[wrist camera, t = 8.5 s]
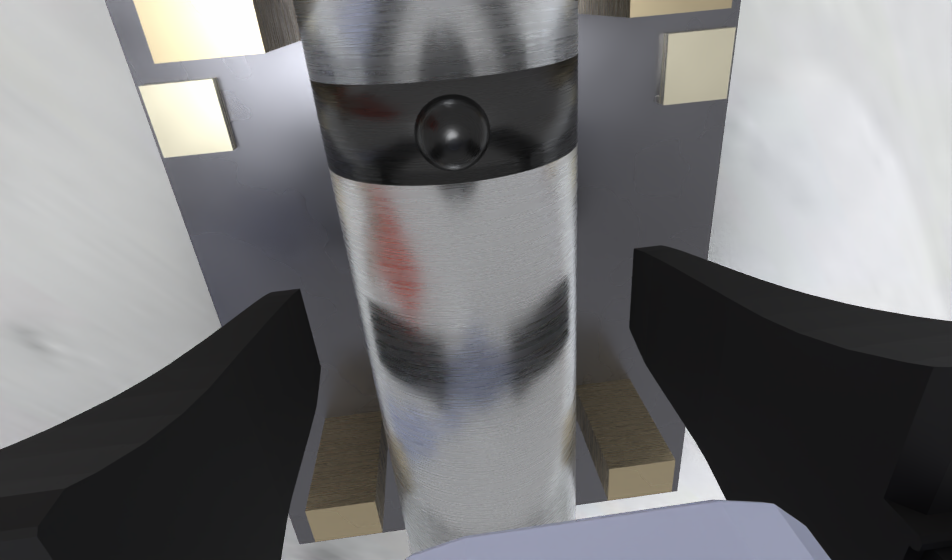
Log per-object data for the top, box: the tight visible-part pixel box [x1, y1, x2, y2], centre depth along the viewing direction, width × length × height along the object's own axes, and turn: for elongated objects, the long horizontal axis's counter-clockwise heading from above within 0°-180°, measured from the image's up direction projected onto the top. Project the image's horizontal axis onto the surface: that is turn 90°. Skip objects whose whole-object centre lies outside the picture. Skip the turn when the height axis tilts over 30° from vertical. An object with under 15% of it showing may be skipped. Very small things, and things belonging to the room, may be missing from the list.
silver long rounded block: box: [293, 0, 578, 555], centre depth 12 cm, size 20×5×6 cm, turn 5°
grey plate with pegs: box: [105, 0, 741, 544], centre depth 14 cm, size 22×14×4 cm, turn 5°
